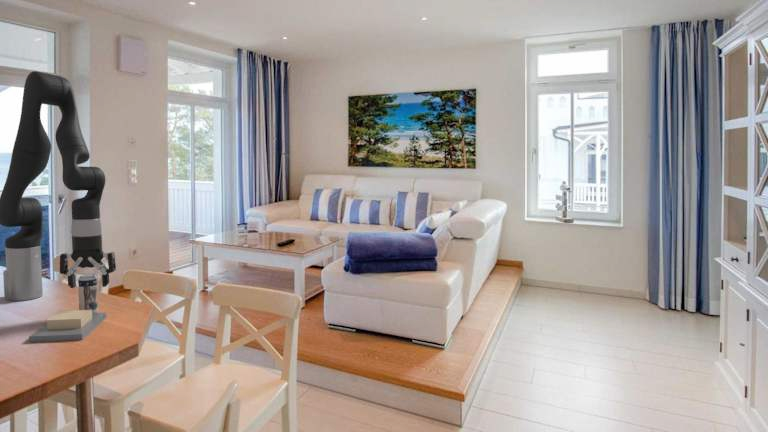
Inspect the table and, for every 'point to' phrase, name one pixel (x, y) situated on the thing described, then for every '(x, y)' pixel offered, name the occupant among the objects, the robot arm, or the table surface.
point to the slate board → (67, 332)
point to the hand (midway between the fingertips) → (89, 286)
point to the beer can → (88, 292)
